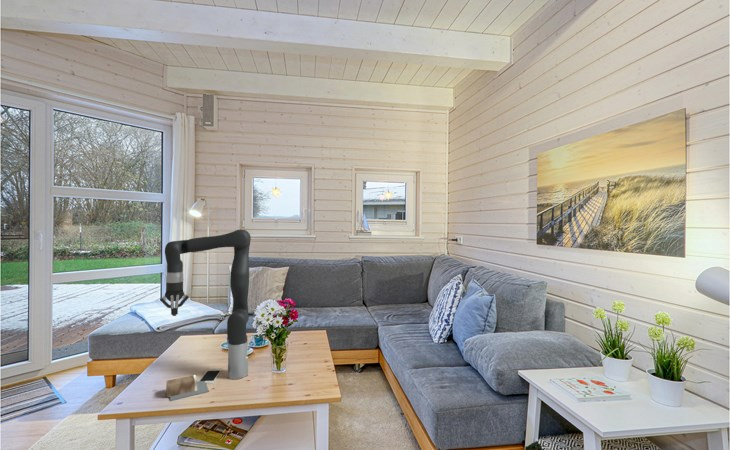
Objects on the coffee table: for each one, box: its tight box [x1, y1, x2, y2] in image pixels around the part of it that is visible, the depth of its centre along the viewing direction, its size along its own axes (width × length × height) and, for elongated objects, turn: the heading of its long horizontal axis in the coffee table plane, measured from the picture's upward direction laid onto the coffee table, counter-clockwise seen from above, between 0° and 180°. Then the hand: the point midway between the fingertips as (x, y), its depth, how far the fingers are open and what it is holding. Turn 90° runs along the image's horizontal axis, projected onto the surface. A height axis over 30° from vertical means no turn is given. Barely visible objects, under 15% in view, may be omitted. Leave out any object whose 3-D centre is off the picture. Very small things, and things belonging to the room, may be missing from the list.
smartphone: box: [199, 368, 223, 385], centre depth 171 cm, size 7×16×1 cm, turn 7°
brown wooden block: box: [165, 374, 198, 398], centre depth 155 cm, size 5×6×12 cm
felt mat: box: [169, 380, 210, 402], centre depth 156 cm, size 16×13×1 cm
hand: (174, 315), depth 167 cm, fingers closed
